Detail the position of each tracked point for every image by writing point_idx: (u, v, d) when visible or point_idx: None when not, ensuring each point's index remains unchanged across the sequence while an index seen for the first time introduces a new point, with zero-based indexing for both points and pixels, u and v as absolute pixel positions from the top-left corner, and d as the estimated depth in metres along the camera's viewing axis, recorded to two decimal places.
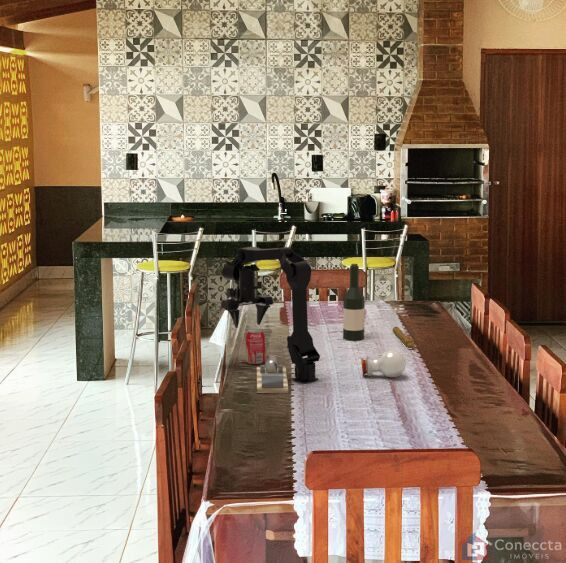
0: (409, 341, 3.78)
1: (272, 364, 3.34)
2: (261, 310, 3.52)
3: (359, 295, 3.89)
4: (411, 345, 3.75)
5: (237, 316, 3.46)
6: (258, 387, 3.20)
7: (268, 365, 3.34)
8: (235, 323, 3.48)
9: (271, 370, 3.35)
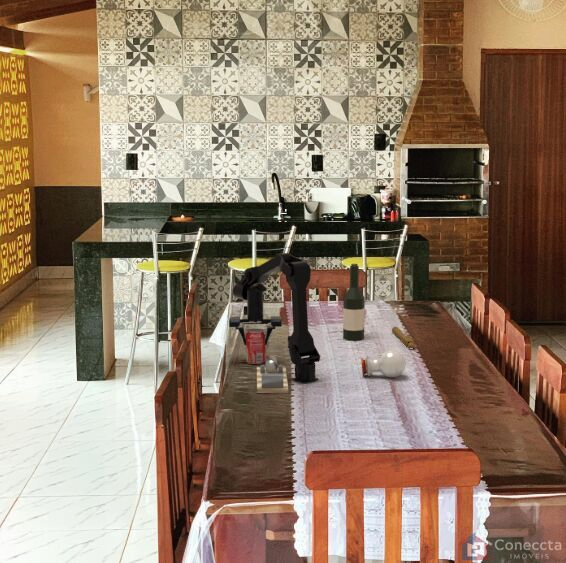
0: (409, 341, 3.78)
1: (272, 364, 3.34)
2: (266, 331, 3.53)
3: (359, 295, 3.89)
4: (412, 345, 3.75)
5: (242, 334, 3.53)
6: (258, 387, 3.20)
7: (268, 365, 3.34)
8: (243, 340, 3.55)
9: (271, 370, 3.35)
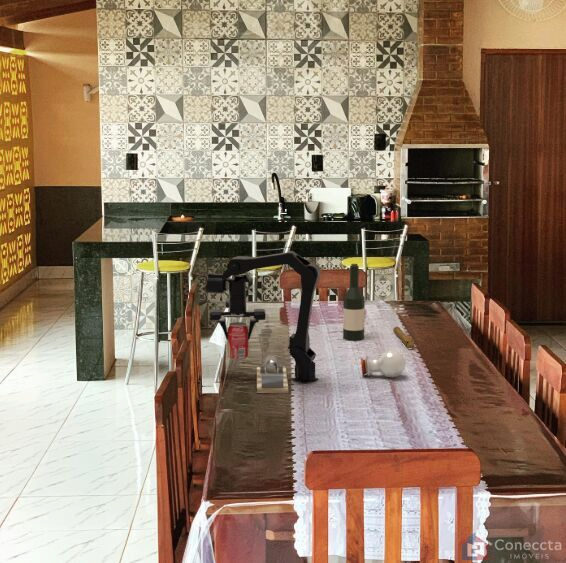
0: (409, 341, 3.79)
1: (272, 364, 3.34)
2: (249, 324, 3.34)
3: (359, 295, 3.89)
4: (411, 345, 3.75)
5: (224, 327, 3.34)
6: (258, 387, 3.20)
7: (268, 365, 3.34)
8: (225, 334, 3.36)
9: (271, 370, 3.35)
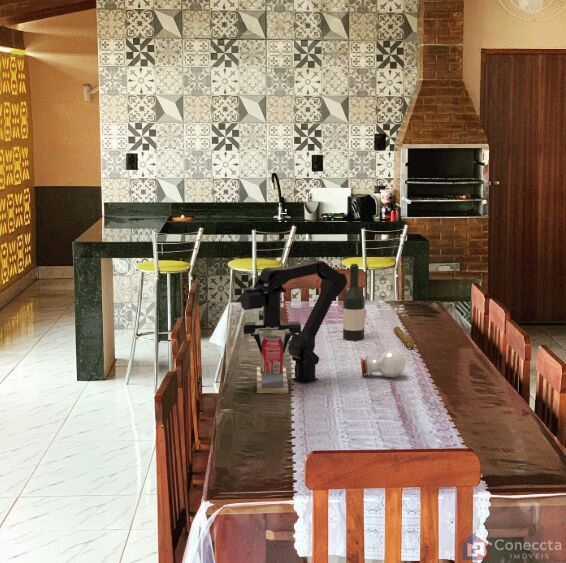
0: (409, 341, 3.79)
1: None
2: (284, 338, 3.23)
3: (359, 295, 3.89)
4: (410, 345, 3.75)
5: (258, 341, 3.22)
6: (258, 387, 3.20)
7: None
8: (259, 348, 3.24)
9: None
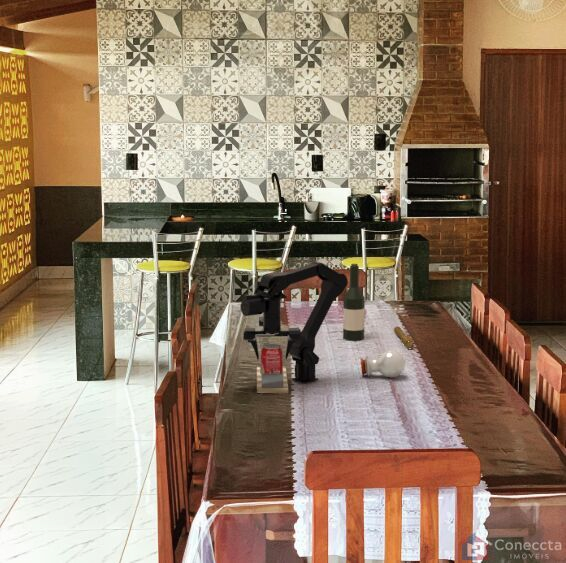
0: None
1: None
2: (287, 344, 3.23)
3: (359, 295, 3.89)
4: (410, 345, 3.76)
5: (255, 347, 3.23)
6: (258, 387, 3.20)
7: None
8: (256, 354, 3.25)
9: None
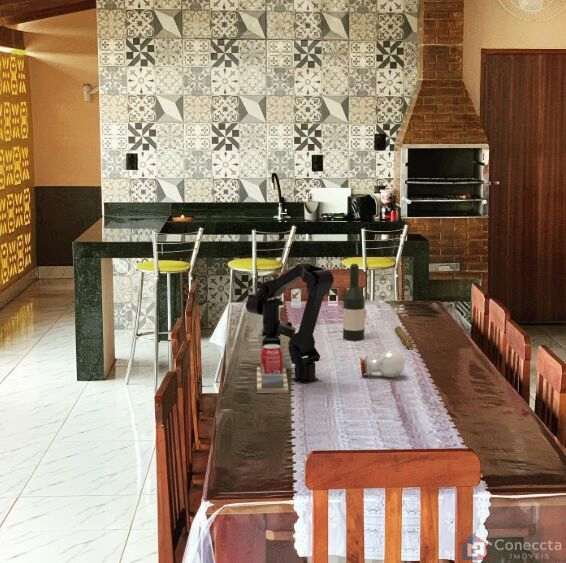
0: None
1: None
2: None
3: (359, 295, 3.89)
4: (409, 345, 3.76)
5: None
6: (258, 387, 3.20)
7: None
8: None
9: None
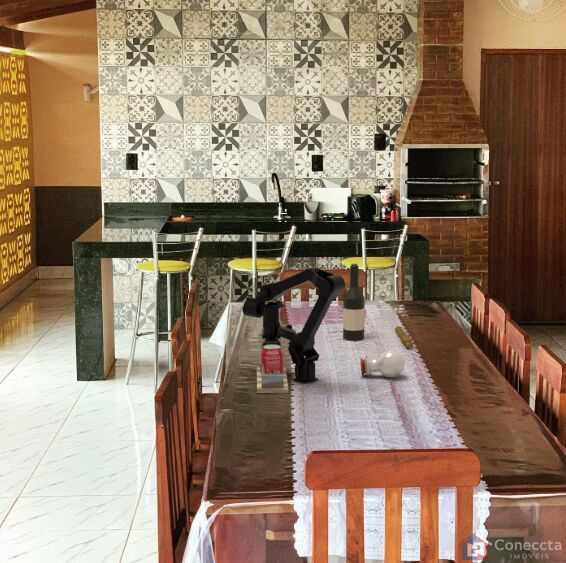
0: (407, 340, 3.79)
1: None
2: None
3: (359, 295, 3.89)
4: (409, 344, 3.76)
5: None
6: (258, 387, 3.20)
7: None
8: None
9: None
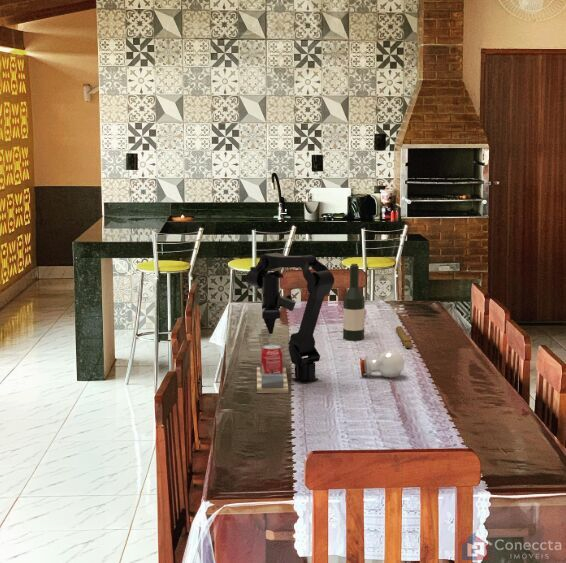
0: (407, 340, 3.79)
1: None
2: None
3: (359, 295, 3.89)
4: (408, 344, 3.76)
5: None
6: (258, 387, 3.20)
7: None
8: None
9: None
